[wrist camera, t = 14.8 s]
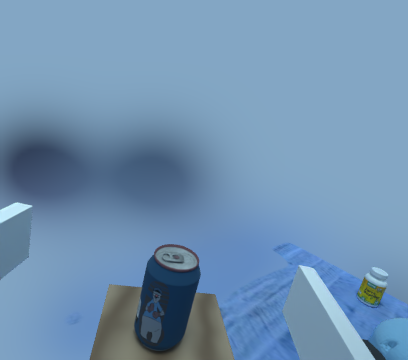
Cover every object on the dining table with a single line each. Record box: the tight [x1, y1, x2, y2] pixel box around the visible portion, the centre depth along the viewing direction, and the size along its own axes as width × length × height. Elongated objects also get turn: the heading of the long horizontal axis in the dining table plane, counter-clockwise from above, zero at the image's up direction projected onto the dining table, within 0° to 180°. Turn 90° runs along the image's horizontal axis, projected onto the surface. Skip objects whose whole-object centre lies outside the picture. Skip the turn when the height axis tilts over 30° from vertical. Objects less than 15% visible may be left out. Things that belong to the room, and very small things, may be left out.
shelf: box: [90, 285, 234, 360], centre depth 38 cm, size 18×18×9 cm
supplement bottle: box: [357, 267, 388, 307], centre depth 74 cm, size 5×5×10 cm
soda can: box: [134, 244, 201, 351], centre depth 35 cm, size 7×7×12 cm
